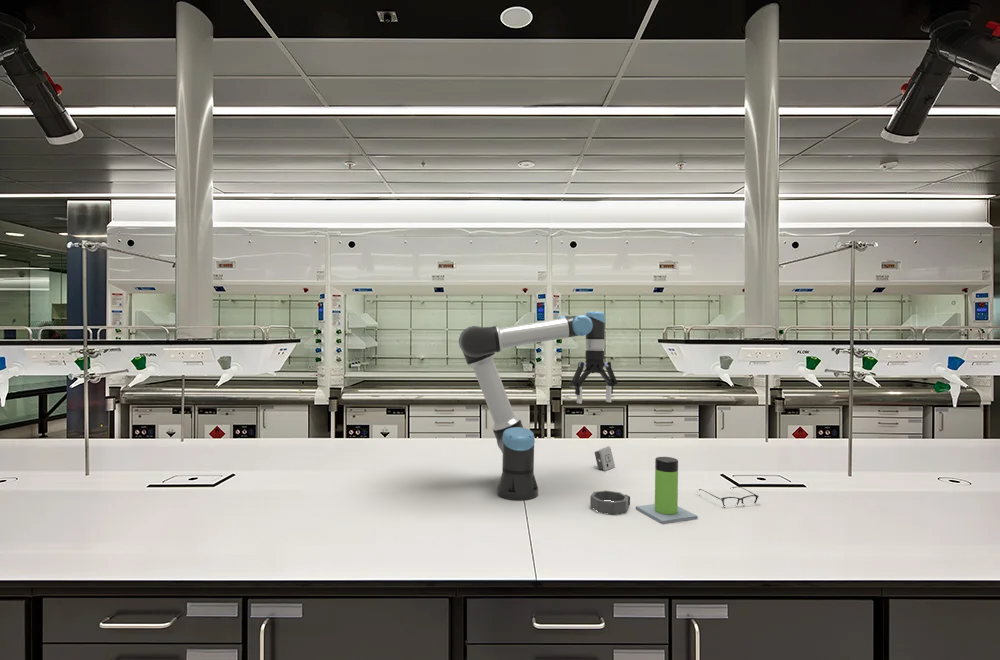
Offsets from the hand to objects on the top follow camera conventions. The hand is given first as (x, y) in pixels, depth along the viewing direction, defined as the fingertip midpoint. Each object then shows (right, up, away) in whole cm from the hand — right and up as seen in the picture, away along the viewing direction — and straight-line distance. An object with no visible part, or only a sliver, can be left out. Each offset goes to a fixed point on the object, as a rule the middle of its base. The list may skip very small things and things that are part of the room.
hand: (594, 402), depth 210 cm
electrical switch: (+8, -32, +20) cm, 38 cm away
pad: (+18, -32, -36) cm, 51 cm away
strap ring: (0, -32, -31) cm, 44 cm away
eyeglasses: (+45, -33, -20) cm, 59 cm away
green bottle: (+18, -31, -36) cm, 51 cm away
